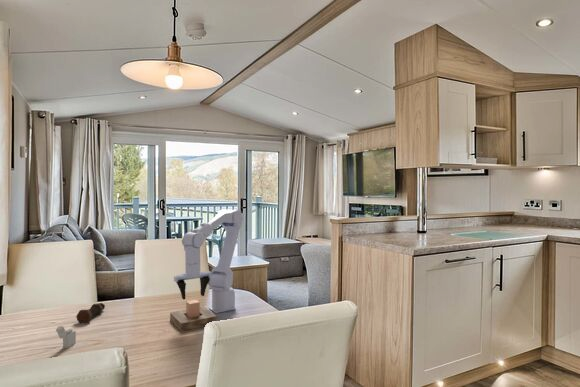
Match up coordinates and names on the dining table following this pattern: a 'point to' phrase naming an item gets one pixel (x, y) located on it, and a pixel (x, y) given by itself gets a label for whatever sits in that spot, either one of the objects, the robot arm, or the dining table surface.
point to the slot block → (192, 319)
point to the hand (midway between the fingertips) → (193, 297)
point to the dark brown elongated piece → (89, 313)
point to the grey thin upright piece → (67, 336)
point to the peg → (192, 308)
